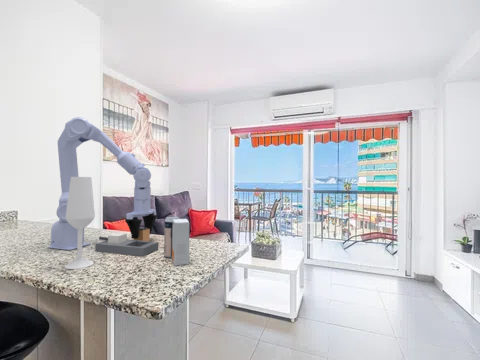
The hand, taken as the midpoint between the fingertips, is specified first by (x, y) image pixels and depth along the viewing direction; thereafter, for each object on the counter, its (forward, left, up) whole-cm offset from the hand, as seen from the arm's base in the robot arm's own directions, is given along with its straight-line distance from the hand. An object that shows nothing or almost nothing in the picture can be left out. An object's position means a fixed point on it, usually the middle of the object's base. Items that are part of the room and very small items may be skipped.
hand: (141, 235), depth 91 cm
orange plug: (0, 0, -3) cm, 3 cm away
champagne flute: (-1, -25, -3) cm, 25 cm away
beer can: (+19, -11, -3) cm, 22 cm away
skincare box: (+24, -15, -3) cm, 28 cm away
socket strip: (+2, -10, -3) cm, 10 cm away
